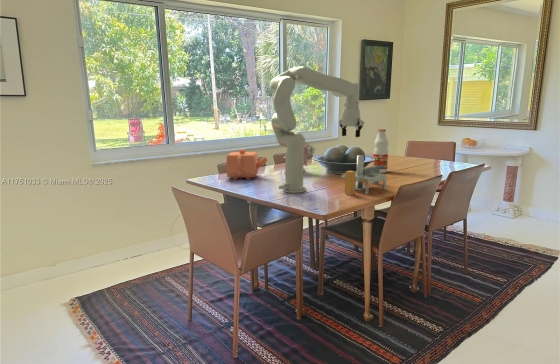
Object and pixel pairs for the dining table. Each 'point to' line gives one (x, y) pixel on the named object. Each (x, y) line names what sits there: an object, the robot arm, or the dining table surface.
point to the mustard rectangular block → (349, 182)
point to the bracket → (372, 169)
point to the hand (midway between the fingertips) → (350, 136)
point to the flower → (306, 153)
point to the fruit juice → (381, 151)
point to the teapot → (243, 164)
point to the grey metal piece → (366, 176)
